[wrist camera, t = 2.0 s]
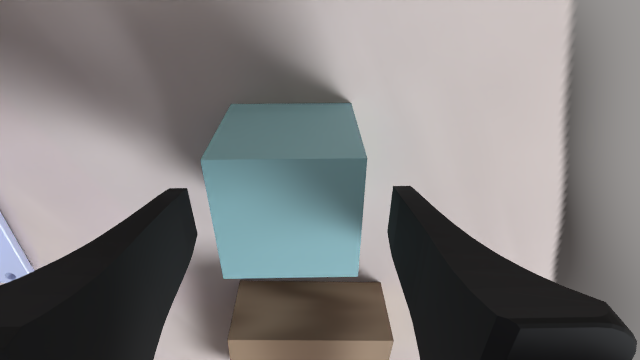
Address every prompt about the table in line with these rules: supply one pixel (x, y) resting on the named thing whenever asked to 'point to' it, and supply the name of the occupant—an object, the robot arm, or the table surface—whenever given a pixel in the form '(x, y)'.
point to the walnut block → (310, 321)
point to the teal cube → (287, 190)
